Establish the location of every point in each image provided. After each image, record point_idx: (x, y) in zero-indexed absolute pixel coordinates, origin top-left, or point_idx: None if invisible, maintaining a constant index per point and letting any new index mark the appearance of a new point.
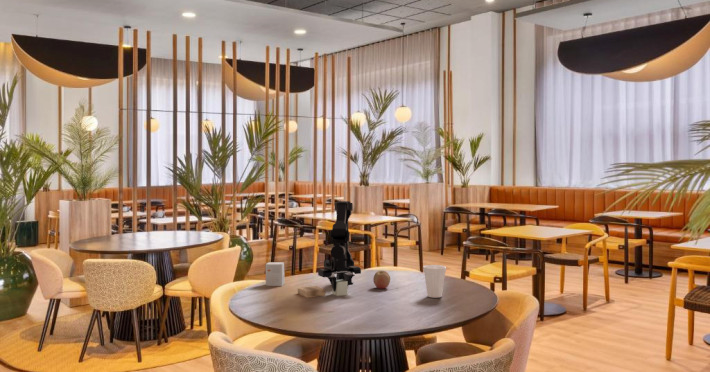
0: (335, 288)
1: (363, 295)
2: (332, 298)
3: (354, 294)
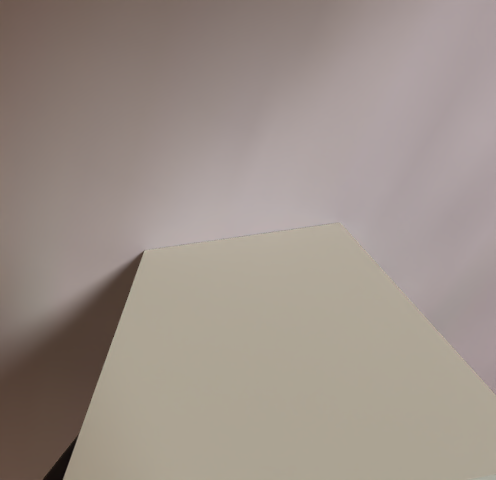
0: None
1: None
2: None
3: None
